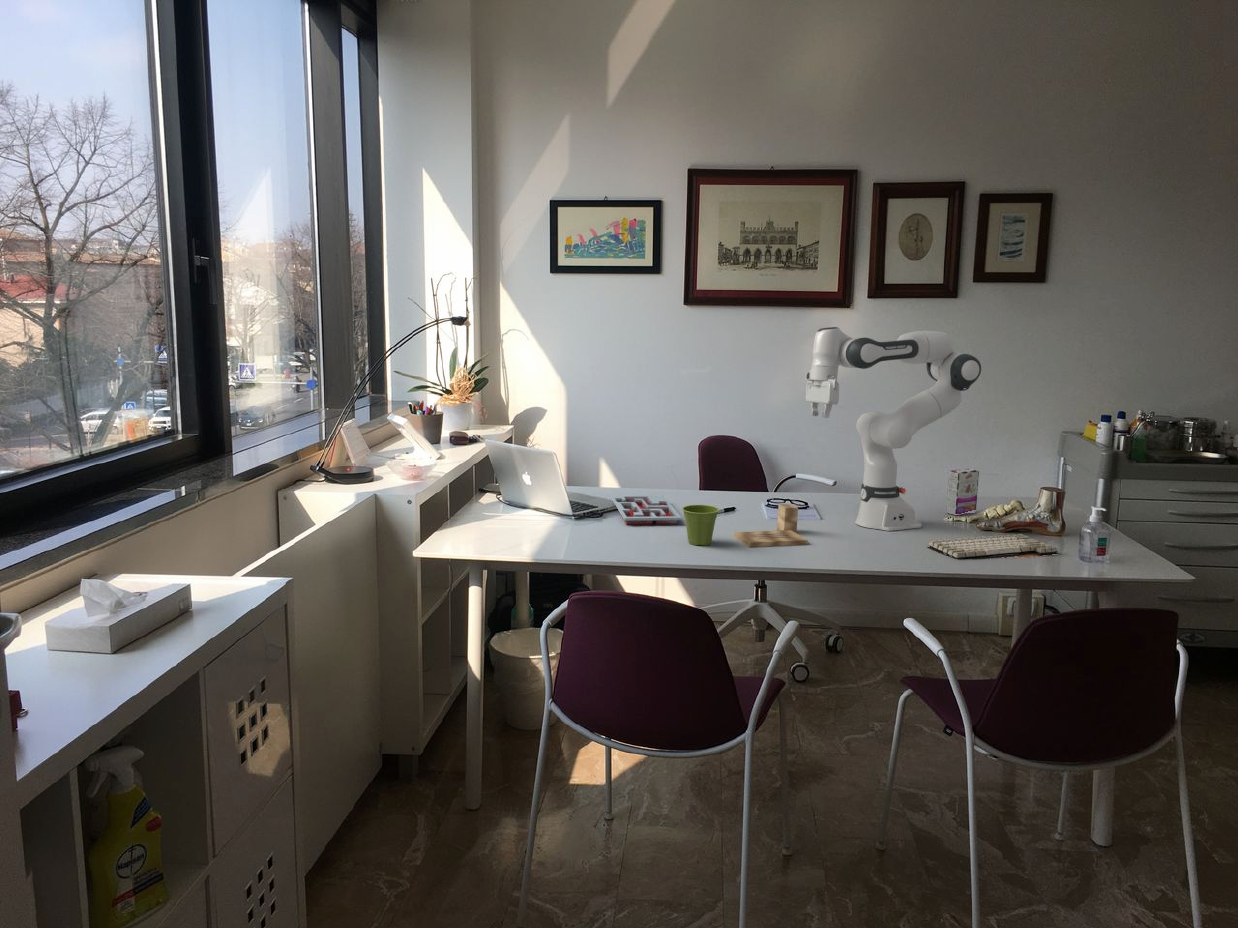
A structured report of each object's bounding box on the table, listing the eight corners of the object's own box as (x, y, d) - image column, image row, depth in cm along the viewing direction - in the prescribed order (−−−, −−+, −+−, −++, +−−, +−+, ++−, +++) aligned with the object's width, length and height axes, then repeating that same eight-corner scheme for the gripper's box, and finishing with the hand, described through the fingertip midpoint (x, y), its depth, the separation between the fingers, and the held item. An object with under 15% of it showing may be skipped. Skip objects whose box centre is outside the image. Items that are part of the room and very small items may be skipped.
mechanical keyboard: (962, 564, 293) (963, 553, 293) (923, 548, 311) (923, 538, 311) (1061, 556, 306) (1062, 546, 305) (1018, 541, 323) (1019, 531, 323)
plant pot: (689, 536, 316) (690, 502, 314) (723, 541, 311) (725, 507, 308) (674, 544, 306) (675, 509, 303) (709, 550, 300) (710, 514, 298)
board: (790, 534, 322) (790, 529, 322) (807, 544, 310) (807, 539, 309) (734, 536, 317) (734, 532, 317) (749, 547, 304) (749, 542, 304)
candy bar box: (965, 510, 364) (969, 467, 361) (976, 513, 360) (980, 470, 357) (944, 513, 358) (948, 469, 355) (955, 516, 354) (959, 472, 351)
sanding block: (789, 530, 328) (791, 504, 326) (796, 534, 323) (798, 507, 321) (777, 530, 327) (778, 504, 325) (783, 534, 322) (785, 508, 320)
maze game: (681, 526, 330) (681, 517, 329) (624, 527, 327) (624, 518, 327) (662, 503, 364) (662, 495, 363) (610, 504, 361) (611, 495, 361)
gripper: (845, 376, 314) (841, 419, 315) (821, 375, 334) (817, 415, 335) (827, 375, 312) (823, 418, 314) (803, 374, 332) (800, 414, 334)
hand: (820, 417), depth 325 cm, fingers open, 8 cm apart
